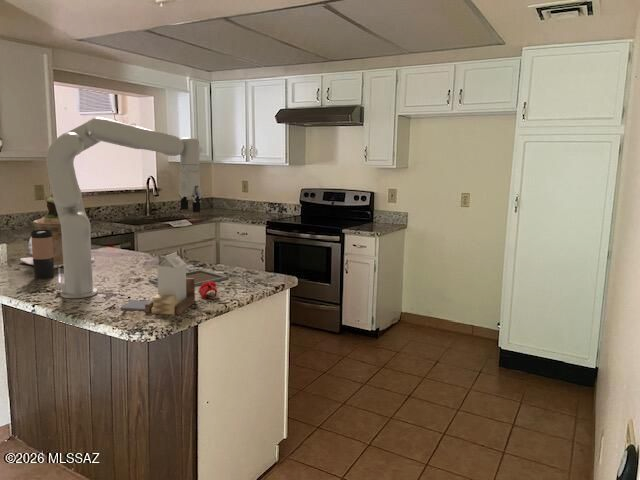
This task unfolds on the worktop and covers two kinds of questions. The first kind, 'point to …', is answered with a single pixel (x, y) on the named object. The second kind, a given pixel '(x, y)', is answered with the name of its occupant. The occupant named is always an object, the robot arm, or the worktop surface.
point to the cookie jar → (54, 225)
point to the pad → (135, 305)
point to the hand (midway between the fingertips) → (190, 210)
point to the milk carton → (172, 277)
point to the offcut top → (164, 299)
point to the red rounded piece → (207, 288)
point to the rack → (185, 303)
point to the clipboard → (198, 277)
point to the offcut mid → (166, 305)
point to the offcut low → (163, 311)
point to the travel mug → (42, 254)
